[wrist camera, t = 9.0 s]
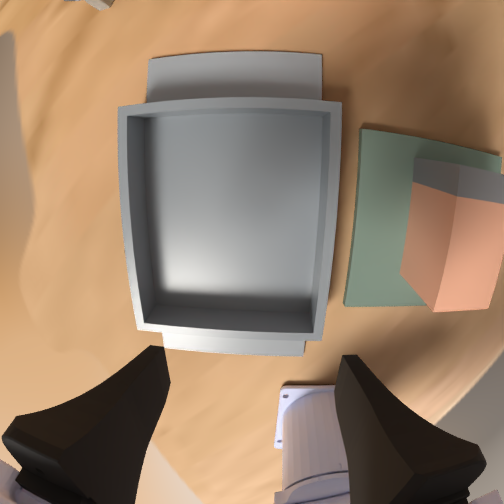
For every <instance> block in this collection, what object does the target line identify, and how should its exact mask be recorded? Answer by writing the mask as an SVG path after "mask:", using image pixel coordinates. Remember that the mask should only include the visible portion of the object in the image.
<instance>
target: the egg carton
mask: <svg viewBox="0 0 504 504" xmlns="http://www.w3.org/2000/svg"><path fill="white" fill-rule="evenodd" d="M64 1H79V0H64ZM85 1H86V2H87V3H88V4H90V5H92V6H93V7H95V8H96V9H98V10H100V11H101V10H104V9H107V8H110V7H111V5H112V3H113V1H114V0H85Z"/></svg>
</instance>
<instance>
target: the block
mask: <svg viewBox="0 0 504 504" xmlns="http://www.w3.org/2000/svg"><path fill="white" fill-rule="evenodd" d="M503 255H504V175H503V174H499V173H495V172H491V171H487V170H482V169H478V168H474V167H469V166H464V165H460V164H454V163H448V162H442V161H435V160H428V159H421V158H414V168H413V181H412V191H411V201H410V210H409V218H408V225H407V232H406V239H405V245H404V251H403V257H402V262H401V268H400V275H401V276H402V277H403V278H404V279H405V280H406V281H407V282H408V284H409V285H410V286H411V287H412V288H413V289H414V290H415V292H416V293H417V294H418V295H419V296H420V297H421V299H422V300H423V301H424V302H425V303H426V304H427V306H428V307H429V308H430V309H431V310H432V312H448V311H464V310H478V309H488V308H489V305H490V302H491V299H492V295H493V292H494V289H495V286H496V282H497V278H498V275H499V271H500V267H501V263H502V259H503Z"/></svg>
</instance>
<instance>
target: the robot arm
mask: <svg viewBox="0 0 504 504" xmlns="http://www.w3.org/2000/svg"><path fill="white" fill-rule="evenodd" d="M170 383H171V382H170V377H169V372H168V366H167V361H166V355H165V350H164V347H161V346H153V345H150V346H149V347H147V348H146V349H145V350H144V351H143V352H141V353H140V354H139V355H138V356H137V357H135V358H134V359H133V360H132V361H130V362H129V363H128V364H127V365H125V366H124V367H123V368H122V369H120V370H119V371H118V372H116V373H115V374H114V375H112V376H111V377H109V378H108V379H107V380H105V381H104V382H103V383H101V384H99V385H98V386H96V387H94V388H93V389H91V390H89V391H88V392H86V393H84V394H82V395H80V396H78V397H76V398H74V399H71V400H69V401H67V402H65V403H63V404H60V405H57V406H55V407H52V408H49V409H45V410H42V411H38V412H34V413H30V414H25V415H20V416H16V417H15V419H14V420H13V422H12V423H11V424H10V426H9V427H8V428H7V430H6V431H5V432H4V434H3V435H2V441H3V443H4V445H5V446H6V448H7V449H8V451H9V452H10V453H11V455H12V456H13V457H14V458H15V459H16V461H17V462H18V463H19V464H20V465H21V466H22V469H21V471H20V472H19V471H17V470H16V469H15V468H13V467H12V466H10V465H9V464H7V463H6V462H4V461H2V460H1V459H0V504H135V499H136V494H137V488H138V483H139V479H140V474H141V470H142V465H143V461H144V457H145V454H146V450H147V447H148V444H149V442H150V439H151V437H152V434H153V432H154V430H155V427H156V425H157V422H158V420H159V418H160V415H161V413H162V410H163V408H164V405H165V403H166V399H167V395H168V391H169V387H170ZM285 394H288V395H285ZM274 447H275V448H277V449H282V491H280V492H275V498H274V504H503V502H502V500H501V497H500V495H499V492H498V490H494V491H492V492H490V493H488V494H485V495H483V496H481V497H479V498H477V499H475V500H473V501H471V502H470V503H468V501H467V497H468V496H469V495H470V492H469V490H468V487H469V486H470V485H471V484H472V483H473V482H474V481H475V480H476V479H477V478H478V477H479V476H480V475H481V473H482V472H483V471H484V469H485V467H486V460H485V458H484V456H483V454H482V452H481V450H480V448H479V446H478V445H477V444H474V443H471V442H469V441H466V440H463V439H461V438H457V437H456V436H453V435H451V434H449V433H447V432H445V431H443V430H441V429H440V428H438V427H436V426H434V425H433V424H431V423H429V422H428V421H426V420H425V419H423V418H422V417H420V416H419V415H417V414H416V413H415V412H413V411H412V410H411V409H409V408H408V407H407V406H406V405H404V404H403V403H402V402H401V401H400V400H399V399H398V398H397V397H396V396H394V395H393V394H392V393H391V392H390V391H389V390H388V389H387V388H386V387H385V386H384V385H383V384H382V383H381V381H380V380H379V379H378V378H377V377H376V376H375V375H374V374H373V373H372V372H371V370H370V369H369V368H368V367H367V366H366V365H365V363H364V362H363V361H362V360H361V359H360V358H359V357H358V355H342V359H341V364H340V368H339V372H338V376H337V381H336V385H320V386H283V387H282V388H281V389H280V398H279V407H278V416H277V424H276V433H275V441H274Z"/></svg>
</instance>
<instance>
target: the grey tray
mask: <svg viewBox="0 0 504 504" xmlns="http://www.w3.org/2000/svg"><path fill="white" fill-rule="evenodd" d="M341 131H342V102H334V101H324V100H322V55H320V54H309V53H294V52H269V51H240V52H215V53H200V54H189V55H179V56H171V57H163V58H156V59H149V62H148V80H147V103H143V104H136V105H128V106H122V107H118V170H119V190H120V205H121V217H122V228H123V238H124V247H125V255H126V263H127V270H128V277H129V284H130V291H131V297H132V303H133V308H134V314H135V319H136V325H137V330H145V331H154V332H162V336H163V342H164V348H171V349H180V350H190V351H200V352H212V353H226V354H242V355H264V356H303V353H304V345H305V341H322V335H323V328H324V322H325V315H326V308H327V301H328V294H329V286H330V278H331V269H332V261H333V251H334V242H335V231H336V220H337V207H338V194H339V178H340V158H341Z"/></svg>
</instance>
